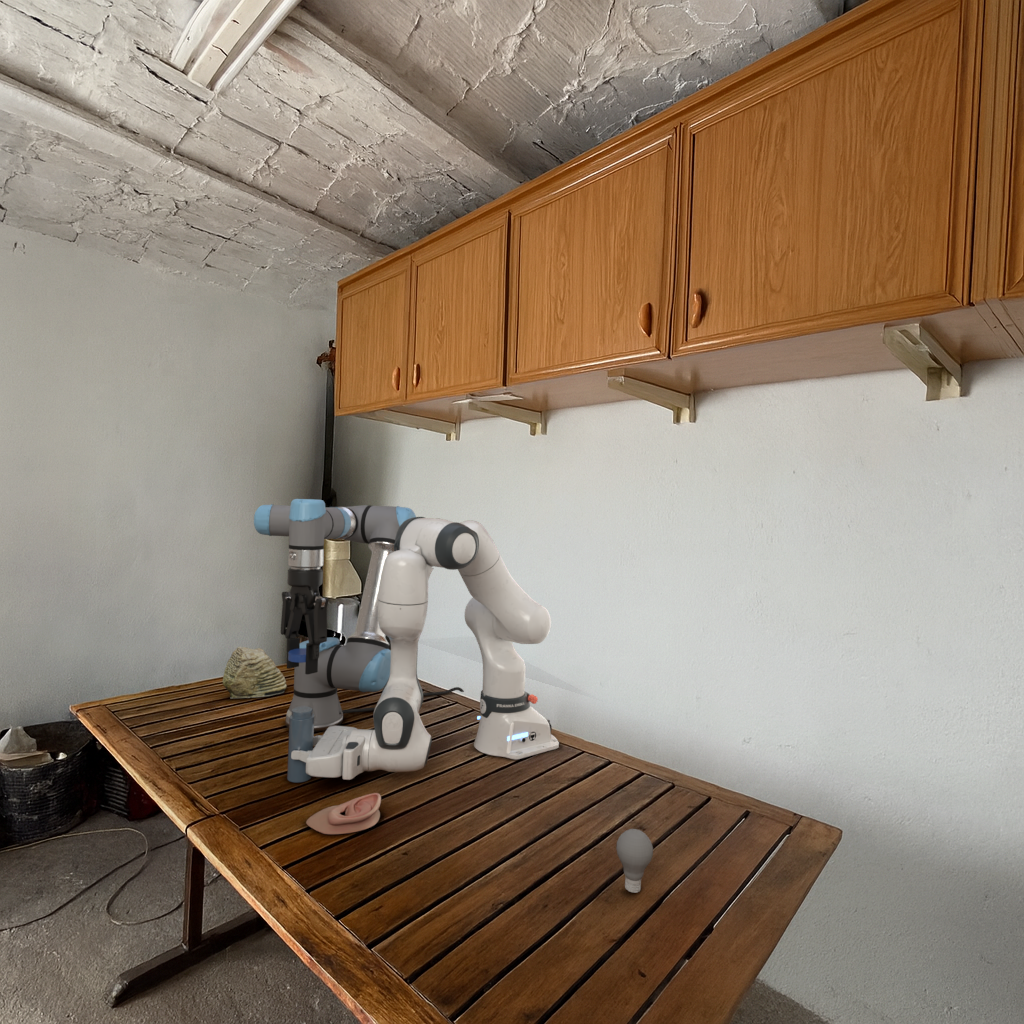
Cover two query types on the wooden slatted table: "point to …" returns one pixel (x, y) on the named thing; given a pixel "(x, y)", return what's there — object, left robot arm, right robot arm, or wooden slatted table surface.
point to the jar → (300, 741)
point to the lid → (297, 655)
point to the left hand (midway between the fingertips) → (302, 669)
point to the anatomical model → (347, 816)
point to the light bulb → (634, 857)
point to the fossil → (252, 674)
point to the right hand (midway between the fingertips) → (296, 748)
